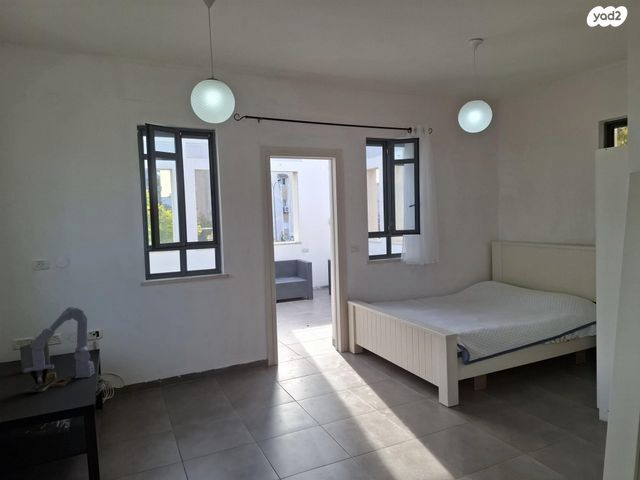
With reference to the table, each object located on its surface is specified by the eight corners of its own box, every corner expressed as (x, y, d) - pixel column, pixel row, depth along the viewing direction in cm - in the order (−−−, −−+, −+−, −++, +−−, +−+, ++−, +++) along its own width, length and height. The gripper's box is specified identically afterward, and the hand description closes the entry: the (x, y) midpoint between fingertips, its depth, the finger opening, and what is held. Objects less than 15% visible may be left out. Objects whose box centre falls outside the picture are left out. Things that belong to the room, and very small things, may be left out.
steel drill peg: (46, 385, 251) (45, 374, 250) (42, 388, 247) (41, 376, 247) (39, 386, 251) (38, 374, 250) (36, 388, 247) (35, 377, 247)
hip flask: (22, 373, 277) (19, 343, 276) (21, 371, 280) (18, 342, 279) (50, 366, 288) (48, 337, 287) (49, 365, 291) (47, 336, 290)
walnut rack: (71, 381, 258) (70, 378, 258) (64, 386, 250) (63, 383, 250) (57, 382, 257) (57, 379, 257) (50, 387, 249) (49, 384, 249)
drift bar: (43, 379, 258) (43, 373, 258) (57, 378, 259) (56, 372, 259) (23, 392, 238) (22, 386, 238) (37, 391, 239) (37, 384, 239)
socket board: (54, 383, 255) (54, 381, 255) (43, 392, 243) (43, 389, 243) (39, 385, 255) (39, 382, 254) (26, 393, 243) (26, 390, 242)
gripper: (54, 355, 254) (56, 378, 255) (26, 359, 249) (28, 382, 250) (51, 359, 248) (53, 382, 248) (22, 363, 243) (24, 386, 243)
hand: (40, 382), depth 249 cm, fingers closed on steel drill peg, 3 cm apart
